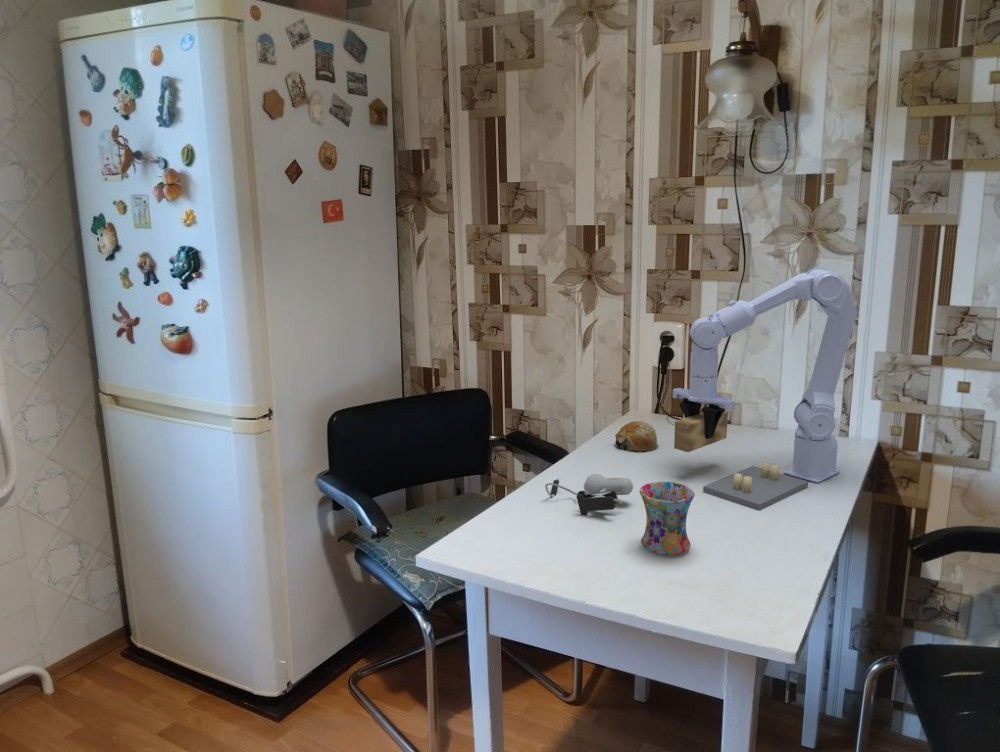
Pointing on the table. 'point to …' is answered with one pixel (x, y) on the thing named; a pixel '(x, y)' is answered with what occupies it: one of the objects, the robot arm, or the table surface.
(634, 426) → the bread roll
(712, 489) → the peg stand
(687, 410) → the robot arm
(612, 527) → the table surface
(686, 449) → the oak bar
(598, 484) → the clip-on lamp
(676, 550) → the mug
